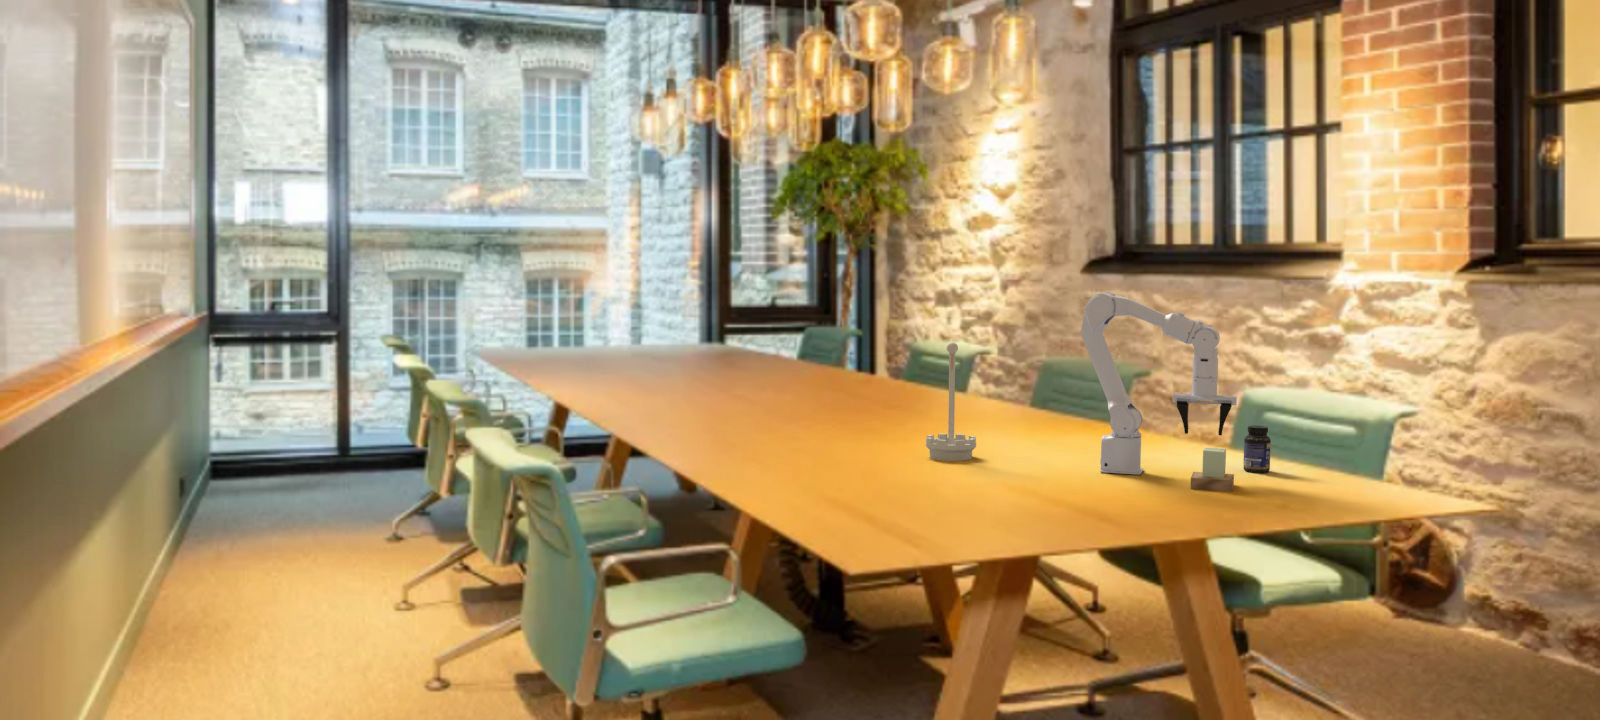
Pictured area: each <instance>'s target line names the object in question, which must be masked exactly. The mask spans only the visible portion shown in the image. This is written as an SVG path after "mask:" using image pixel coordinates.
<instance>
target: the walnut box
mask: <svg viewBox="0 0 1600 720" xmlns="http://www.w3.org/2000/svg"><path fill="white" fill-rule="evenodd" d="M1202 472H1203V471H1202ZM1202 472H1201V471H1193V472H1192V474H1191V476H1190V490H1197V491H1198V490H1199V491H1211V492H1212V491H1215V492H1229V493H1230V492H1231V493H1232V492H1233V489H1234V485H1235V482H1234V481H1235V474H1234V473H1225V476H1224V477H1223V478H1214V477H1202Z"/></svg>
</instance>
